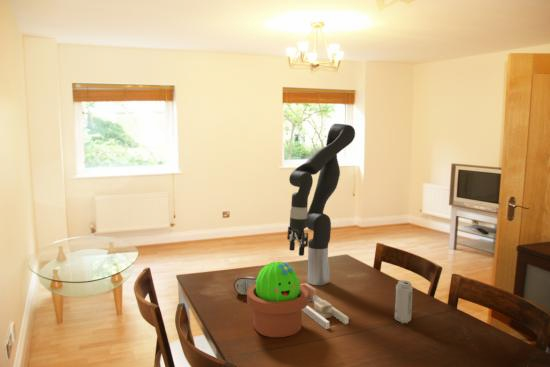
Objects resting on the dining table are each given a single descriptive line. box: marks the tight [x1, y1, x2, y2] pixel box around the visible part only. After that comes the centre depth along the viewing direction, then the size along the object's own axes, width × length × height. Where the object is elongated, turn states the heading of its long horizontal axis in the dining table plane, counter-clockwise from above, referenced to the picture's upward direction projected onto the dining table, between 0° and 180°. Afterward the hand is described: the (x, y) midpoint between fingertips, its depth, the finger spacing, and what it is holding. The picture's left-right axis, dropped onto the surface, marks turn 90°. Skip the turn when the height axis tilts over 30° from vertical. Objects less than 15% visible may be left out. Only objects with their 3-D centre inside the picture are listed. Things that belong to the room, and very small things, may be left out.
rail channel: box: [300, 282, 350, 330], centre depth 172 cm, size 10×31×5 cm, turn 26°
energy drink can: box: [394, 279, 414, 324], centre depth 162 cm, size 6×6×15 cm
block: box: [313, 299, 333, 319], centre depth 167 cm, size 5×5×5 cm
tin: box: [233, 274, 258, 296], centre depth 187 cm, size 15×3×8 cm, turn 84°
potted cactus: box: [246, 260, 309, 338], centre depth 157 cm, size 22×22×25 cm
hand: (296, 252), depth 190 cm, fingers open, 8 cm apart
